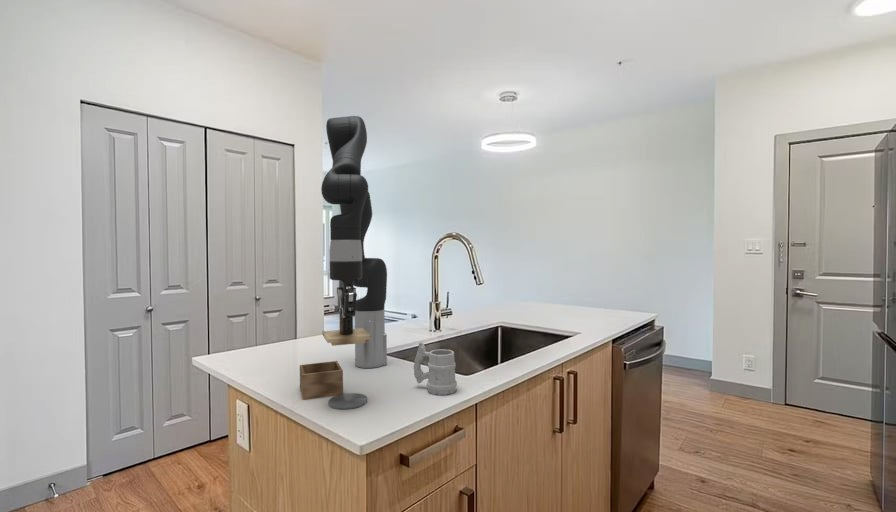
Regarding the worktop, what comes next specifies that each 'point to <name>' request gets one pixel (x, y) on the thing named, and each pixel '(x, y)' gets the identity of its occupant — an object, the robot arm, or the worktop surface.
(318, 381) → the tea box
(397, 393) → the worktop surface
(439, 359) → the mug
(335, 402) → the coaster
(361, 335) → the lid
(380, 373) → the worktop surface
